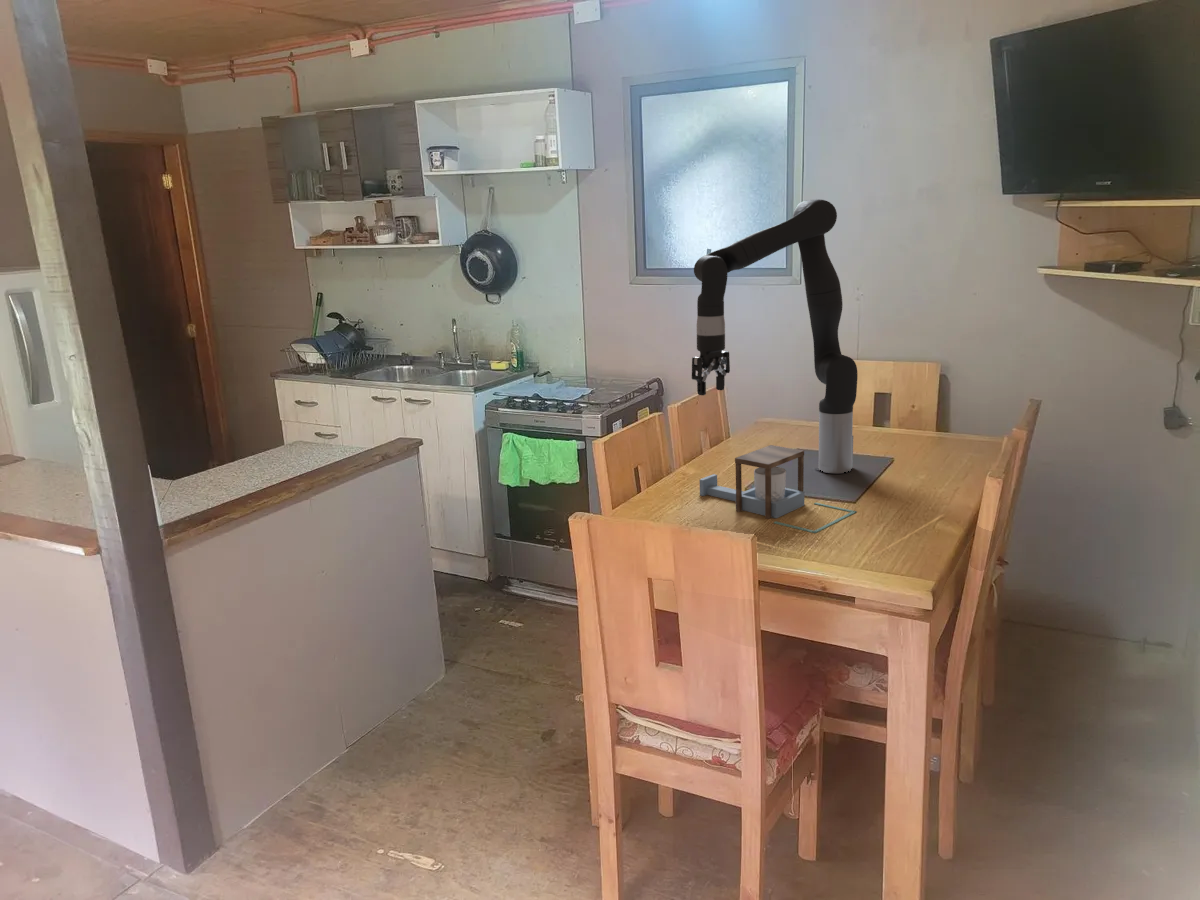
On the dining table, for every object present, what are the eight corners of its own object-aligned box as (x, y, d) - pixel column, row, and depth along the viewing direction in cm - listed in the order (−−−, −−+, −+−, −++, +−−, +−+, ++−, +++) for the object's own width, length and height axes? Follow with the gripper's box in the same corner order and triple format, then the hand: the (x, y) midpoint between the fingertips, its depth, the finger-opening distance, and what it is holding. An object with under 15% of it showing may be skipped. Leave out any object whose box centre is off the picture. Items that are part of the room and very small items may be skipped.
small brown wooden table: (771, 497, 227) (770, 444, 224) (803, 504, 220) (804, 450, 217) (735, 512, 217) (734, 458, 214) (768, 520, 210) (768, 464, 207)
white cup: (787, 504, 221) (787, 466, 219) (783, 514, 214) (783, 475, 211) (756, 502, 224) (756, 465, 221) (751, 512, 217) (751, 474, 214)
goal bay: (815, 504, 220) (815, 502, 220) (856, 513, 212) (856, 511, 212) (773, 524, 208) (773, 522, 207) (815, 534, 200) (815, 532, 199)
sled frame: (721, 486, 237) (720, 471, 236) (804, 505, 219) (804, 488, 217) (692, 498, 229) (691, 482, 228) (776, 518, 210) (776, 501, 209)
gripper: (706, 336, 223) (707, 398, 227) (737, 330, 233) (737, 389, 237) (683, 334, 228) (684, 395, 232) (714, 328, 238) (715, 386, 242)
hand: (711, 392), depth 235 cm, fingers open, 8 cm apart
